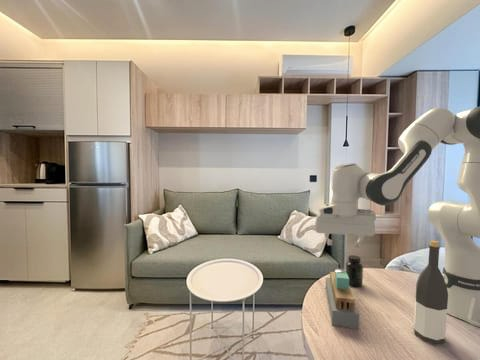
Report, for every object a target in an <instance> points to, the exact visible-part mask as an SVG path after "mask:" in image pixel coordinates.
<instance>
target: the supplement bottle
mask: <svg viewBox="0 0 480 360" xmlns="http://www.w3.org/2000/svg"><path fill="white" fill-rule="evenodd" d="M361 260H362V259H361V257H360V256H358V255H348V259H347V262H346V263H345V270H346V274H347V275H348V277H349V286H350V287H354V288H358V287H362V286H363V284H364V283H363V278H364V276H363V275H364V266H363V264H362V263H361V262H362V261H361Z"/></svg>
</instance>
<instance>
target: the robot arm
mask: <svg viewBox="0 0 480 360" xmlns="http://www.w3.org/2000/svg"><path fill="white" fill-rule="evenodd" d="M397 144H398V148H399V150H400V151H401V152H402V153H403V155H402V156H401V158H399V160H398V161H397V162H396V163H395V164H394V165H393V166H392V168H390V169H389V170H388V171H386V172H382V173H376V172H375V173H374V172H371V171H368V170H366V169H363V168H362V167H360V166H359V165H358V164H357V163H355V162H354V163H353V162H352V163H350V162H349V163H343V164H339V165H337V166H336V167H334V169H333V172H332V180H331V182H332V183H331V189H332V196H331V202H328V203H324V204H321V205H319V206H318V212H317V214H316V217H315V222H314V230H315V232H316V233H317V234H324V237H325V239H326V240H327V242H326V244H327V246H333V240H332V239H330V238H329V236H330V234H331V235H344V236H345V235H346V236H347V235H348V236H358V239H357V241H356V240H355V241H354V247H355V248H361V243H362V241H363V240H364V238H365V237H373V236H375V235H376V225H375V224H376V223H375V221H376V219H377V214H376V212H375V211H373V210H371V209H365V208H364V209H362V208H359V199H360V198H361V199H365V200H367V201H371V202H373V203H375V204H377V205H378V206H390V205H391V206H392V204H395V203H396V202H397V201H399V199H400V198H401V196H402V194H403V192H404V190H405V188H406V186H407V184H408V183H409V182H410V181H411V180H412V178H413V177H414V176H415V175H416V174H417V173H418V171H420V170H421V168H422V167H423V165H424V164H425V163H426V162H427V161H428V159H430V156H431V154H432V152H433V150H434V149H435V148H436V147H437V146H438V145H439V144H443V145H447V146H448V145H453V146H454V145H458V144H459V145H460V144H463V147H464V154H463V157H462V160H461V164H460V167H459V168H460V169H459V171H458V175H457V180H456V185H457V186H458V188H459V189H460V190H461V191H463V192H464V193H465V194H467V195H468V197H469V203H465V202H459V201H450V200H449V201H448V200H445V201H444V200H443V201H435V202H433V203H432V204H431V205H430V206H429V208H428V210H427V219H428V221H429V223H430V224H431V225H432V226H433V227H435V229H436V230H437V232H438V233H439V235H440V237H441V239H442V241H443V247H444V267H443V268H442V275H443V278H444V280H445V283H446V286H447V291H448V304H447V315H450V316H452V317H453V318H457V319H460V320H463V321H465V322H467V323H469V324H471V325H473V326H475V327H479V328H480V247H479V246H478V245H477V244H476V243H475V242H474V240H473V238H477V239H480V106H476V107H474V108H470V109H466V110H462V111H460V112H458V113H455V114H454V113H453V112H451V111H450V110H449V109H447V108H445V107H433V108H431V109H429V110H428V111H426V112H425V113H423V114H422V115H420V116H419V117H417V119H416V120H414V121H413V122H412V123H411V124H409V126H408V127H407V128H406V129H404V131H403V132H401V134H400V136H399V137H398V139H397ZM472 237H473V238H472Z"/></svg>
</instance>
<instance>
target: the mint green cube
mask: <svg viewBox="0 0 480 360" xmlns="http://www.w3.org/2000/svg"><path fill="white" fill-rule="evenodd" d="M335 284H336V287H337V288H338V289H347V290H349V286H350V285H349V277H348V275H347V274H344V273H336V276H335Z"/></svg>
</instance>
